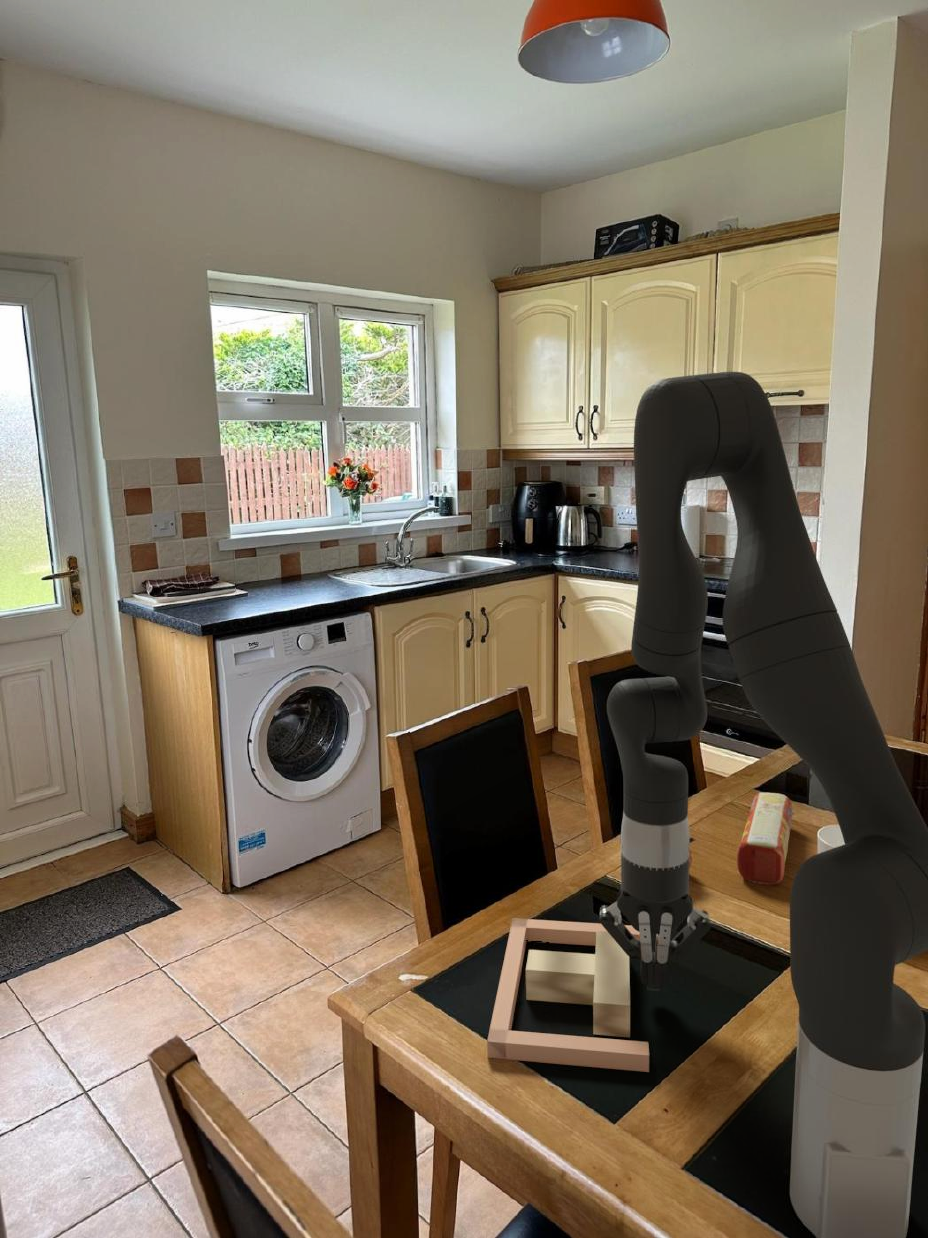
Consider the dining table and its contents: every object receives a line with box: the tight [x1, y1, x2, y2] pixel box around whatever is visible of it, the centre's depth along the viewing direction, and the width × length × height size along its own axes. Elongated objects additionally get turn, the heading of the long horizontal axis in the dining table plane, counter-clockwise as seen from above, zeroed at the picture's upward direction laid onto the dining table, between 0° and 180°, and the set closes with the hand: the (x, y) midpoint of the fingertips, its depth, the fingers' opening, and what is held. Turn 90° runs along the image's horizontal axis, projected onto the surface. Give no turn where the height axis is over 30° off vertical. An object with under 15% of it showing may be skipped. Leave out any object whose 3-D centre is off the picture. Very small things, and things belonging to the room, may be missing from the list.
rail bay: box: [486, 917, 650, 1073], centre depth 102 cm, size 24×17×2 cm
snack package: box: [736, 792, 793, 885], centre depth 133 cm, size 21×7×7 cm, turn 155°
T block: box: [525, 931, 631, 1038], centre depth 102 cm, size 12×14×4 cm
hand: (653, 985), depth 100 cm, fingers closed
